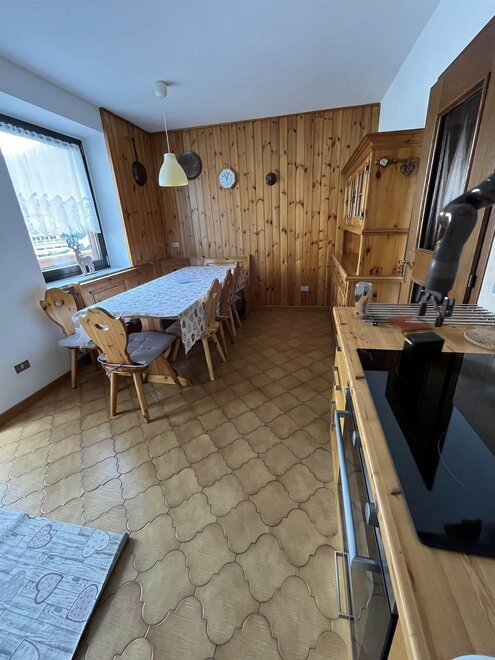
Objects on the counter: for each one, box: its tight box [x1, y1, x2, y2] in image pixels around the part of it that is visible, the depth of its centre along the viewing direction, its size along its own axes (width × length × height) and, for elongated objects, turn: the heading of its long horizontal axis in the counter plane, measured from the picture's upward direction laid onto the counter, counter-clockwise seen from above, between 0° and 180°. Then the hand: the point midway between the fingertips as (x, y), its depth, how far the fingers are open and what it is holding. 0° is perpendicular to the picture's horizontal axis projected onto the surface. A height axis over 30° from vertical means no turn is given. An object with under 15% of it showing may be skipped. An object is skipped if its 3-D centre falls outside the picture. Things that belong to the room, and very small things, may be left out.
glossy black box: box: [401, 331, 446, 361], centre depth 98 cm, size 11×6×7 cm, turn 93°
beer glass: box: [353, 281, 373, 319], centre depth 127 cm, size 7×7×15 cm
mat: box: [387, 315, 432, 332], centre depth 121 cm, size 12×12×1 cm
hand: (428, 321), depth 94 cm, fingers open, 8 cm apart
